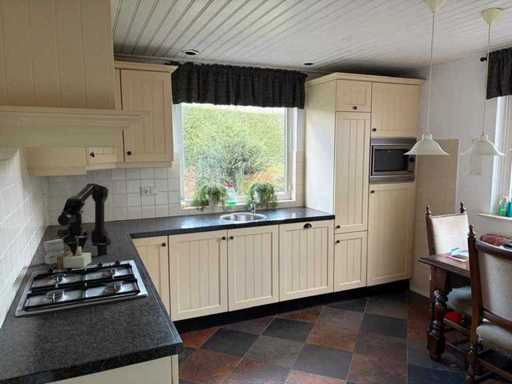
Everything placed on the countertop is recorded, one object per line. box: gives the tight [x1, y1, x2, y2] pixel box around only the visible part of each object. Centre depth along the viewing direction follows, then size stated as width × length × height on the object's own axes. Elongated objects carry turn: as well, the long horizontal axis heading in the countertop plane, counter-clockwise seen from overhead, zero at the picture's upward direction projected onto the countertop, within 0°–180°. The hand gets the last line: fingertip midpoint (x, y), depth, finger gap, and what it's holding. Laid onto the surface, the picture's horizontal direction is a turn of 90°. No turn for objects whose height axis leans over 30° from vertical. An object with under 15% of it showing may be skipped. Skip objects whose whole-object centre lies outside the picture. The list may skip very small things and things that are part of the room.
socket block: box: [62, 252, 92, 269], centre depth 195 cm, size 10×10×5 cm
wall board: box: [56, 250, 72, 270], centre depth 196 cm, size 13×32×7 cm, turn 94°
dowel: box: [74, 246, 83, 256], centre depth 195 cm, size 4×4×8 cm
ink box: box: [43, 238, 65, 265], centre depth 207 cm, size 9×5×12 cm, turn 141°
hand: (77, 253), depth 195 cm, fingers open, 9 cm apart
